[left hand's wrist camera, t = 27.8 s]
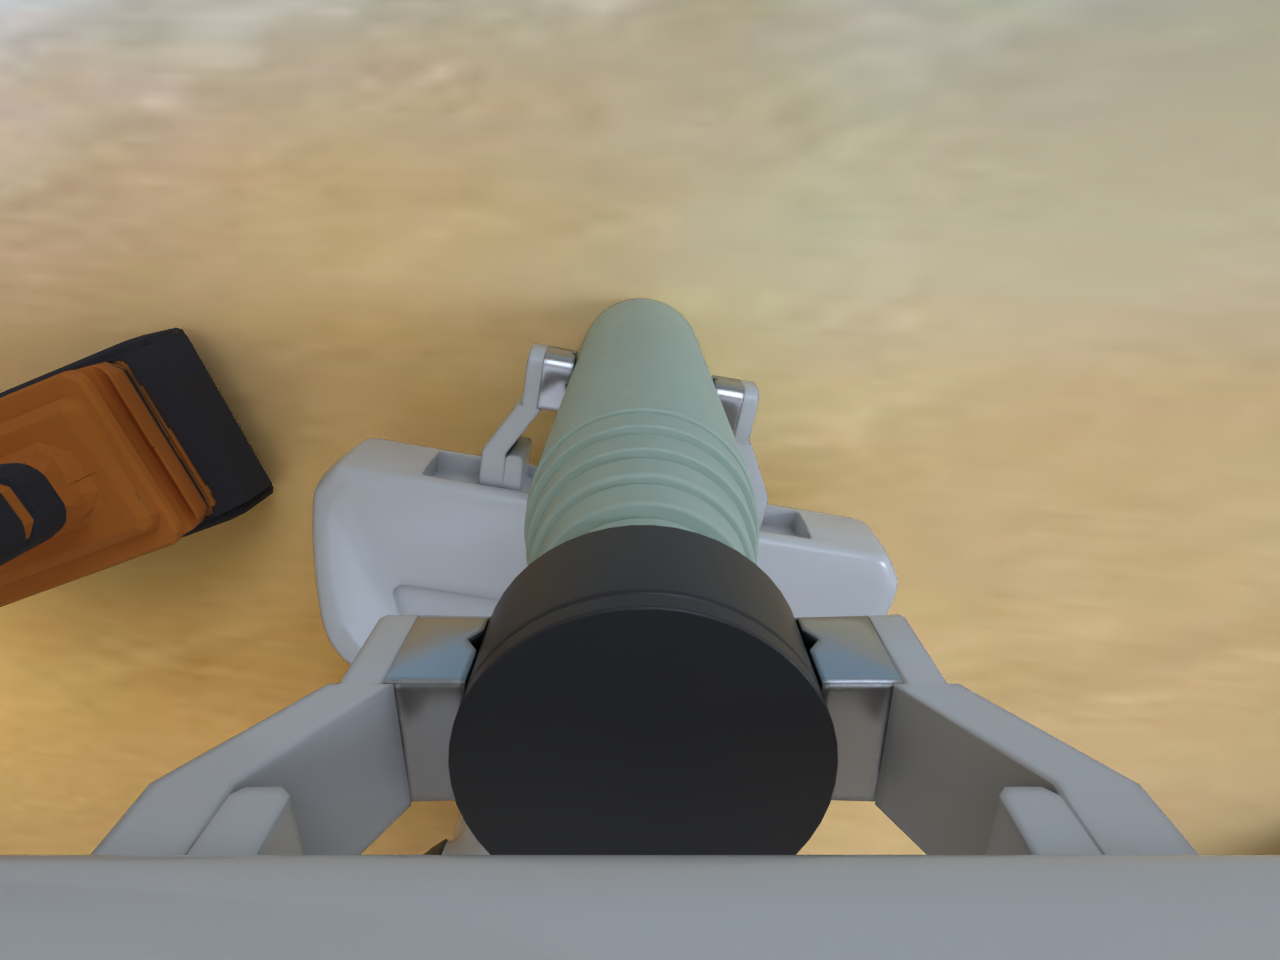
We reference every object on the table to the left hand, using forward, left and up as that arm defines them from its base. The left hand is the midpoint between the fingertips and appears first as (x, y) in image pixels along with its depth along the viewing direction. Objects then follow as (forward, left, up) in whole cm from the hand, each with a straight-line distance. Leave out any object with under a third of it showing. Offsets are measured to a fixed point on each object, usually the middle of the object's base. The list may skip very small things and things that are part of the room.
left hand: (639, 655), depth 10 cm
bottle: (0, 0, -20) cm, 20 cm away
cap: (0, 0, +2) cm, 2 cm away
